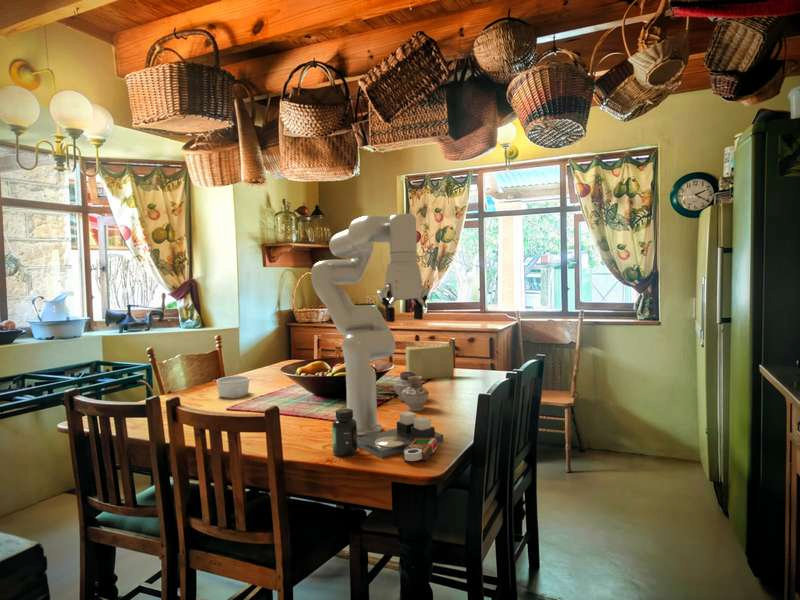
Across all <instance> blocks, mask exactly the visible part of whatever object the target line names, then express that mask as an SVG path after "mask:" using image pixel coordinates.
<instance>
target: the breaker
mask: <svg viewBox="0 0 800 600" xmlns="http://www.w3.org/2000/svg"><path fill="white" fill-rule="evenodd" d="M414 418H417V413H416V412H415V413H414V412H413V411H405V412H401V413H399V421H400V423H403V424H405V425H409V424H413V423H414Z"/></svg>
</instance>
